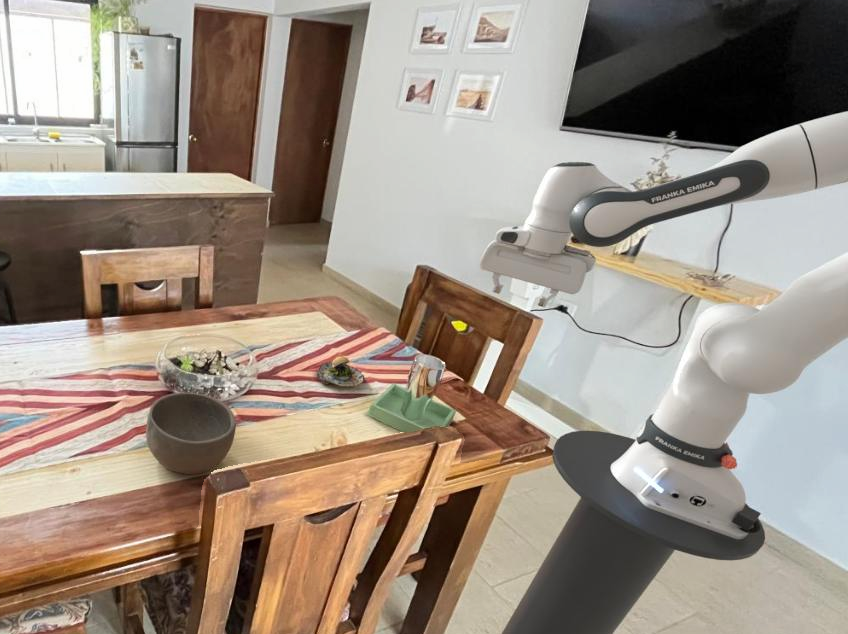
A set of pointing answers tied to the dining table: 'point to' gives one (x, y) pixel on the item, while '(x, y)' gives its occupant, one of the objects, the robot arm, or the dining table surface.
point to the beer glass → (421, 387)
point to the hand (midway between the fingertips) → (518, 299)
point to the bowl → (190, 432)
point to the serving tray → (388, 413)
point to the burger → (340, 373)
